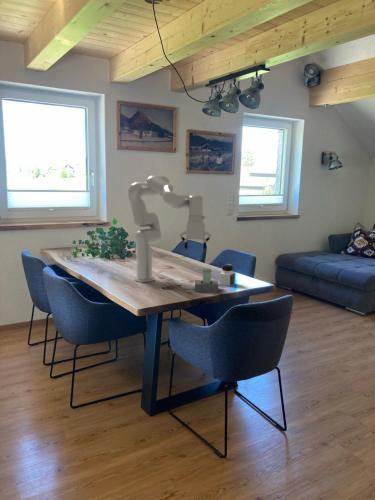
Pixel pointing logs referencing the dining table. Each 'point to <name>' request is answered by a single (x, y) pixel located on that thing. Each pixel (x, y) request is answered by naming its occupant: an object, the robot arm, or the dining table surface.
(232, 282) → the medicine bottle
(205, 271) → the plug
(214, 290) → the header
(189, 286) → the pad
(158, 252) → the dining table surface
